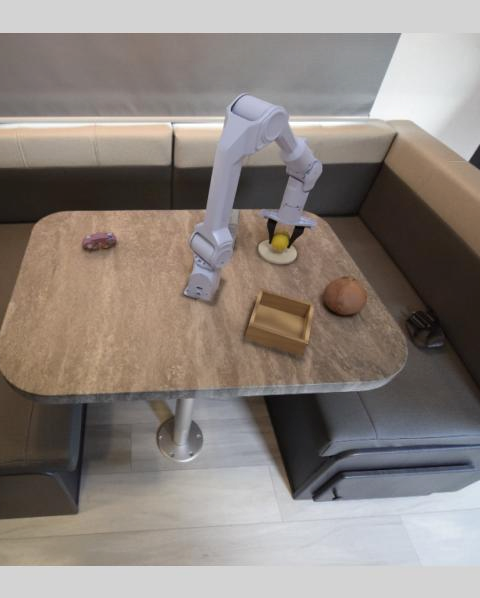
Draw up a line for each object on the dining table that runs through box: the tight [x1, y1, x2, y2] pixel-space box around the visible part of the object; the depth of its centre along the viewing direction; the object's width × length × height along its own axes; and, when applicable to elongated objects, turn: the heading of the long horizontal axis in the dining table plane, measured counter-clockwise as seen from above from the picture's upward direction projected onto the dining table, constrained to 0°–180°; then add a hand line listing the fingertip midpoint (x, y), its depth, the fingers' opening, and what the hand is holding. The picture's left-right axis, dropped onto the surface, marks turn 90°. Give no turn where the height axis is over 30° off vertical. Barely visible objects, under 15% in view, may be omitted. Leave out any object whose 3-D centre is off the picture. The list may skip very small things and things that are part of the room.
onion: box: [323, 274, 368, 317], centre depth 84 cm, size 10×9×10 cm
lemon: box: [272, 229, 291, 251], centre depth 100 cm, size 7×5×5 cm, turn 157°
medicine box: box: [228, 208, 240, 249], centre depth 103 cm, size 8×4×9 cm, turn 168°
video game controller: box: [81, 231, 117, 251], centre depth 100 cm, size 10×5×7 cm, turn 105°
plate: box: [257, 238, 298, 265], centre depth 102 cm, size 11×11×1 cm
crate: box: [244, 288, 315, 357], centre depth 80 cm, size 13×13×5 cm
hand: (279, 244), depth 101 cm, fingers closed on lemon, 4 cm apart
